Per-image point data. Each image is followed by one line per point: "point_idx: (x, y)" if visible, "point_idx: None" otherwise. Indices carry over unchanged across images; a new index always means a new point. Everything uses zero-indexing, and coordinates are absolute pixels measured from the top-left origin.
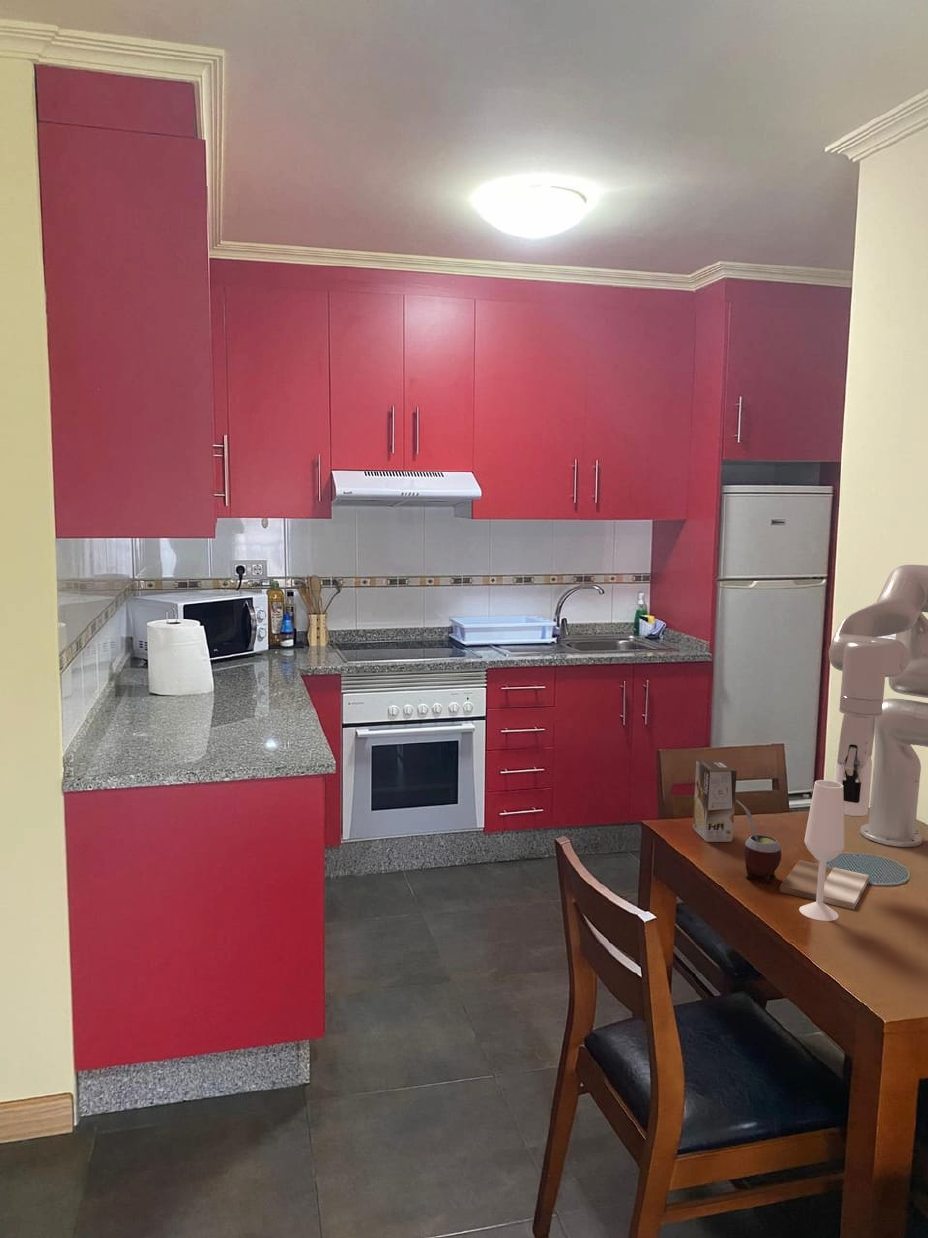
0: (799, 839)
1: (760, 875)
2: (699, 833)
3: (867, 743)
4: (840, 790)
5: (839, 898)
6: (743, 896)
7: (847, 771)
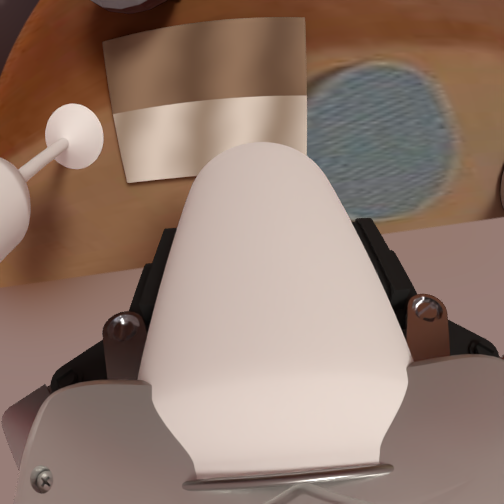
0: (466, 12)
1: None
2: None
3: None
4: None
5: (127, 155)
6: (44, 12)
7: (34, 398)
